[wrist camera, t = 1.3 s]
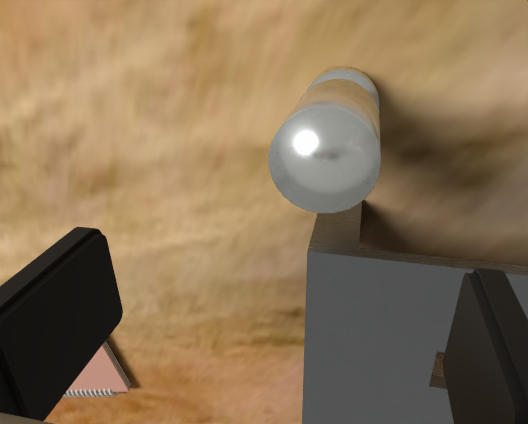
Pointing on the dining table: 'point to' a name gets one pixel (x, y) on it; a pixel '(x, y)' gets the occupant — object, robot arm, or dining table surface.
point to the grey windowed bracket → (379, 327)
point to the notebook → (100, 376)
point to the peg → (329, 143)
